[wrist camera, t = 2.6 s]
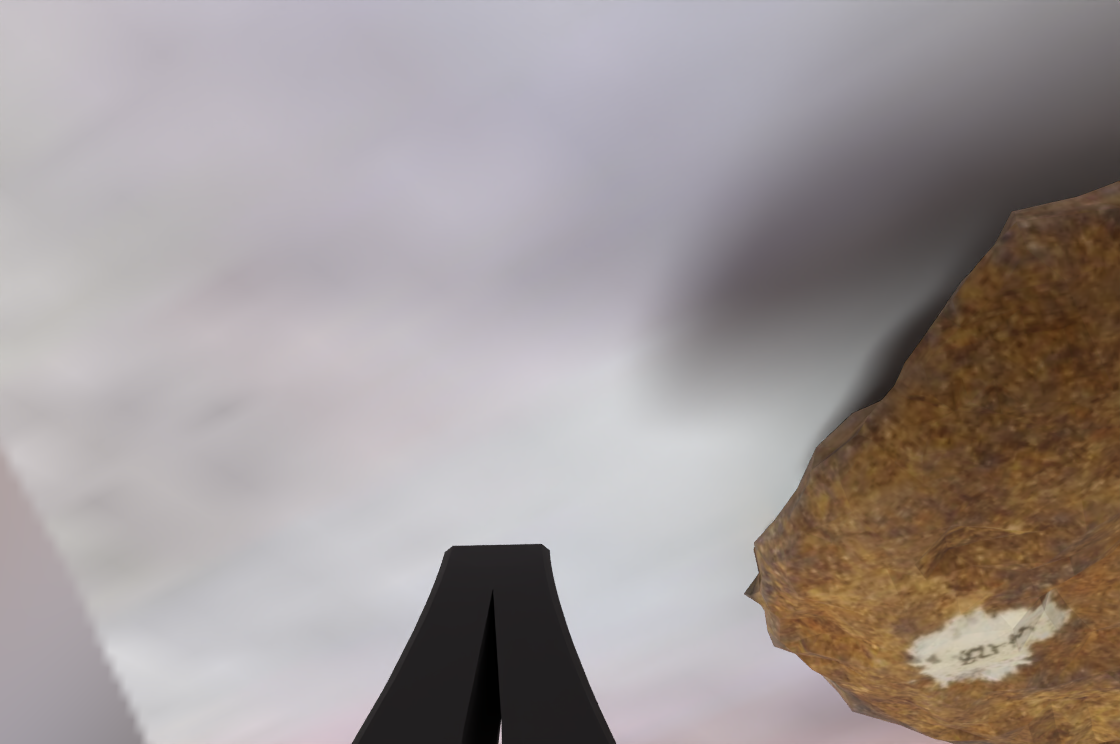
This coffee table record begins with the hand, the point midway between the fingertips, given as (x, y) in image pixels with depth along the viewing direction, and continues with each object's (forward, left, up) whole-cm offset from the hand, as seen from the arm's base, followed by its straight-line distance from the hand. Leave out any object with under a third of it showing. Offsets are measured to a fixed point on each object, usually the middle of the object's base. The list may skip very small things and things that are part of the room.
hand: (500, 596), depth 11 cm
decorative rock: (0, -11, -5) cm, 12 cm away
